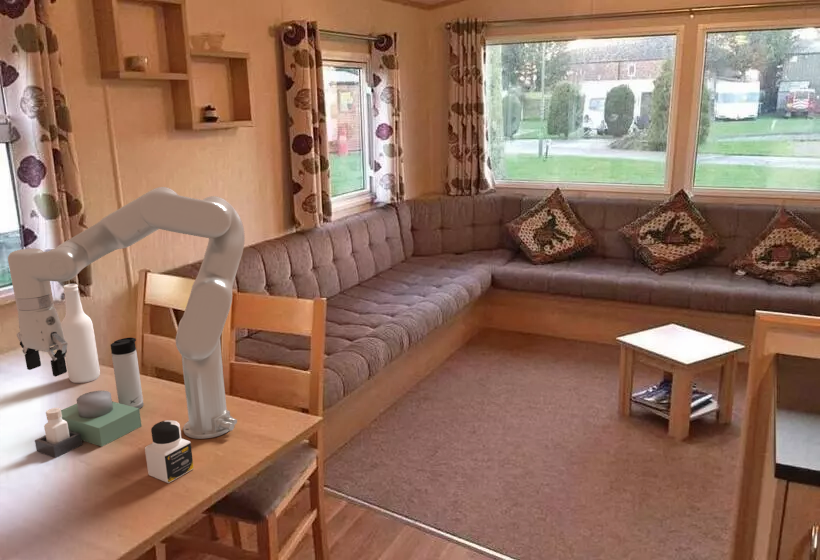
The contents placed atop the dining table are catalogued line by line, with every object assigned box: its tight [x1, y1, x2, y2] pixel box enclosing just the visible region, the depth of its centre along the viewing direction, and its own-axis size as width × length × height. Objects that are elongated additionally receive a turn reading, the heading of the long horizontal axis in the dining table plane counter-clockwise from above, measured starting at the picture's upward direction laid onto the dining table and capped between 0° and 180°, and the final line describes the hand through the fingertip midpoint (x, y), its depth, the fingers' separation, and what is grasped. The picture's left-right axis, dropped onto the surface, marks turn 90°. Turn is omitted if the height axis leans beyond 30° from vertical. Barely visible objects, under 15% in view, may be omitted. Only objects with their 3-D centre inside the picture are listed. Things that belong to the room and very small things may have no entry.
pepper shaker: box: [43, 407, 70, 444], centre depth 161 cm, size 4×4×10 cm
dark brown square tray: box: [34, 430, 83, 459], centre depth 161 cm, size 7×7×3 cm
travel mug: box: [110, 337, 144, 410], centre depth 181 cm, size 6×7×20 cm
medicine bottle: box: [144, 419, 194, 484], centre depth 148 cm, size 7×7×12 cm
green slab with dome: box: [61, 390, 143, 448], centre depth 170 cm, size 18×12×9 cm, turn 62°
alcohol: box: [60, 283, 101, 384], centre depth 201 cm, size 9×9×30 cm
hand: (47, 371), depth 157 cm, fingers open, 9 cm apart
